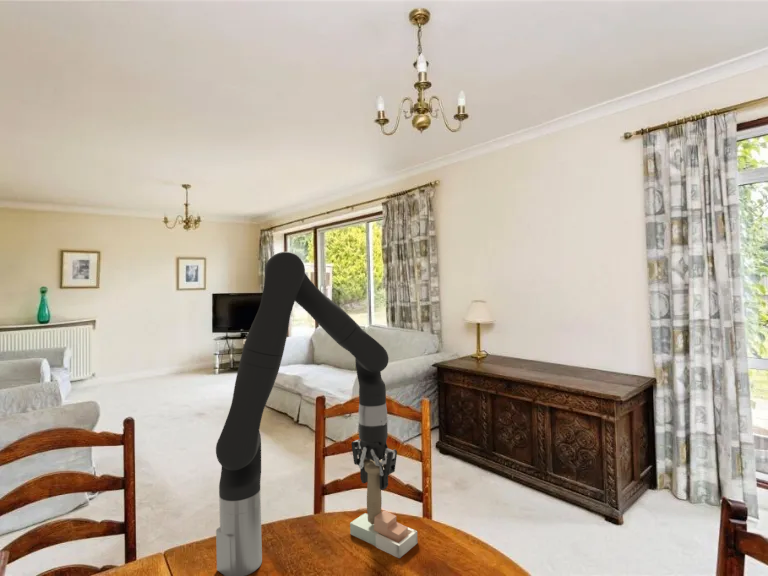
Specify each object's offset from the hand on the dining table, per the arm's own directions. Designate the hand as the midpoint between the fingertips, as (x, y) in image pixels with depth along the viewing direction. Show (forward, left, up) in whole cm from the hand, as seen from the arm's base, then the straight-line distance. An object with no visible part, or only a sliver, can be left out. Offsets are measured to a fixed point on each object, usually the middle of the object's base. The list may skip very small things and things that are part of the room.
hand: (374, 485), depth 108 cm
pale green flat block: (0, +2, -13) cm, 14 cm away
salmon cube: (0, -5, -11) cm, 12 cm away
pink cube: (0, -3, -11) cm, 11 cm away
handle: (0, 0, -10) cm, 10 cm away
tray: (+1, -7, -13) cm, 15 cm away
